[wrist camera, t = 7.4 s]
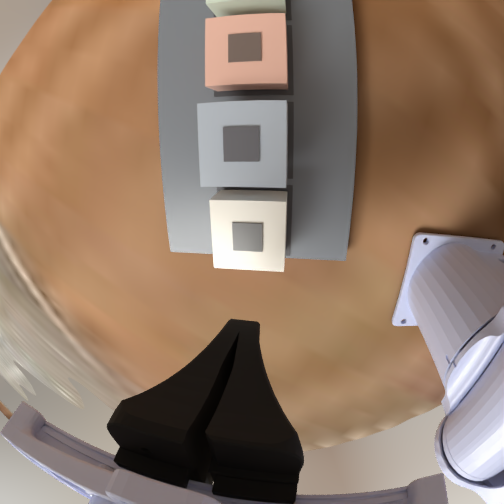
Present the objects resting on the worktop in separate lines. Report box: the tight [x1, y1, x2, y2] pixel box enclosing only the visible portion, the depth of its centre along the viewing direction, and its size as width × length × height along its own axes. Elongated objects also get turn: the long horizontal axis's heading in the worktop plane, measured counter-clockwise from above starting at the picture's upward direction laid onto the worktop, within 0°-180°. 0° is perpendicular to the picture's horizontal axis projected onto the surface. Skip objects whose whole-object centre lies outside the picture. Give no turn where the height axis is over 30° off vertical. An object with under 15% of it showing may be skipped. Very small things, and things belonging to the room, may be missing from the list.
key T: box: [205, 13, 288, 91], centre depth 12 cm, size 4×4×2 cm
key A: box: [209, 190, 287, 272], centre depth 16 cm, size 4×4×2 cm
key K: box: [197, 100, 288, 188], centre depth 13 cm, size 4×4×2 cm
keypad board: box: [158, 0, 357, 261], centre depth 15 cm, size 12×20×1 cm, turn 1°
